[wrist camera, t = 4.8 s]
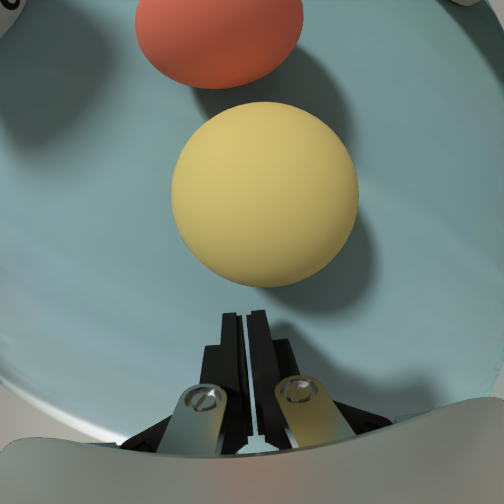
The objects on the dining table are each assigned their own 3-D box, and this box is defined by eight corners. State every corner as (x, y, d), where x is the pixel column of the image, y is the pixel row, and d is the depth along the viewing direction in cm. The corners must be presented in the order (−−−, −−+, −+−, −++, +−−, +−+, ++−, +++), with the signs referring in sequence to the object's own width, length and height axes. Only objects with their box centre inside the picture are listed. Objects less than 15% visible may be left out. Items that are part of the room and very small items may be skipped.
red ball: (172, 139, 9) (117, 19, 3) (147, 51, 10) (114, -40, 4) (315, 99, 9) (356, -17, 4) (261, 21, 10) (268, -70, 4)
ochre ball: (199, 61, 4) (214, 80, 9) (132, 298, 6) (168, 210, 11) (431, 177, 5) (345, 136, 10) (323, 342, 8) (289, 248, 13)
